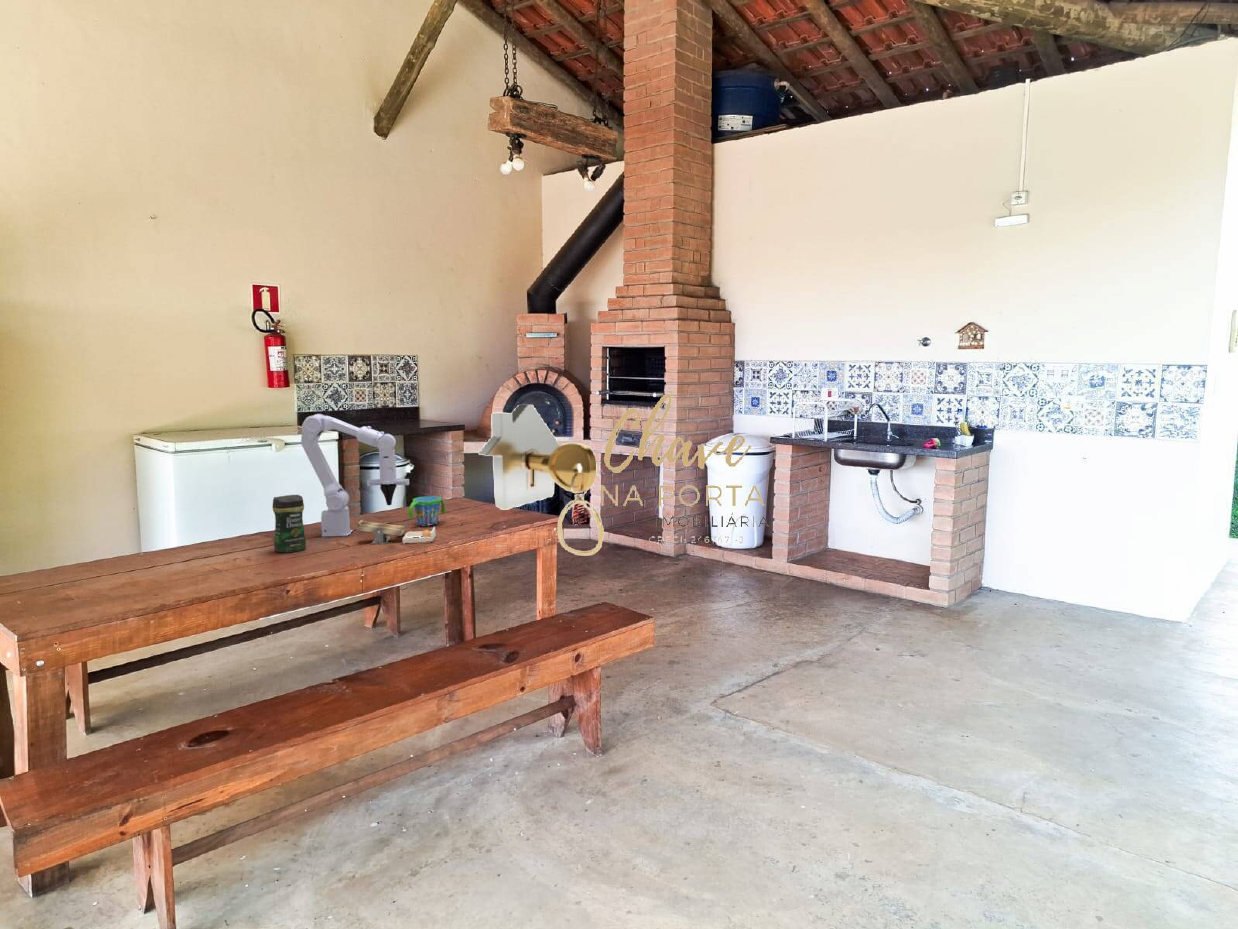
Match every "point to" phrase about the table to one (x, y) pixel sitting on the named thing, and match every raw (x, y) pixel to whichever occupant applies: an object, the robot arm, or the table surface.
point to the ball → (426, 533)
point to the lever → (386, 528)
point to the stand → (380, 537)
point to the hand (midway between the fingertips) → (389, 504)
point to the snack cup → (426, 509)
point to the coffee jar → (289, 523)
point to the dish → (409, 536)
